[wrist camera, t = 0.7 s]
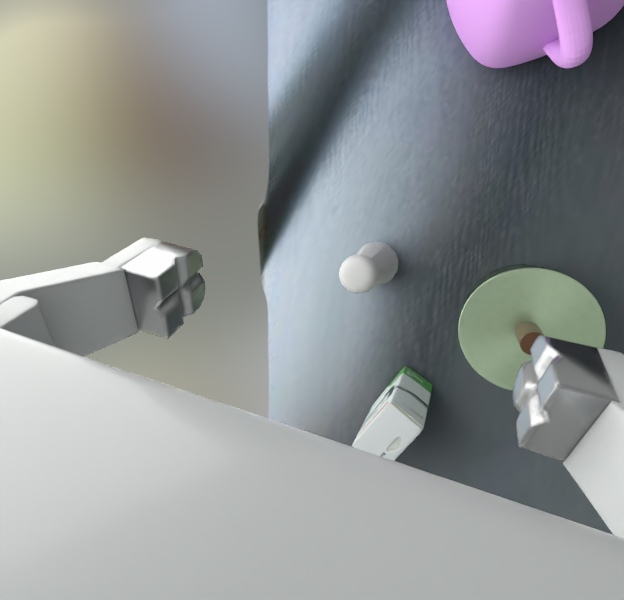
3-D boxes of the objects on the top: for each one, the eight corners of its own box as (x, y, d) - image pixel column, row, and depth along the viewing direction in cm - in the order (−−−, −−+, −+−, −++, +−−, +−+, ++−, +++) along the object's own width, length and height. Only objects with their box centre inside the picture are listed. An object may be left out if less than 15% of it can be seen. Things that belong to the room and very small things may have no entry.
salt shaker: (350, 262, 55) (319, 275, 43) (378, 231, 53) (353, 236, 41) (381, 291, 54) (357, 312, 43) (410, 261, 52) (394, 274, 40)
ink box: (405, 363, 55) (390, 400, 44) (434, 385, 54) (426, 428, 44) (370, 405, 59) (349, 448, 48) (397, 426, 58) (381, 475, 47)
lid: (631, 354, 40) (653, 374, 35) (500, 407, 45) (504, 430, 40) (555, 240, 40) (567, 244, 35) (434, 307, 46) (431, 318, 41)
